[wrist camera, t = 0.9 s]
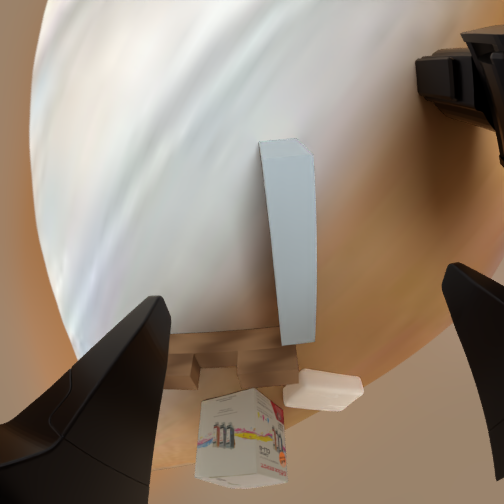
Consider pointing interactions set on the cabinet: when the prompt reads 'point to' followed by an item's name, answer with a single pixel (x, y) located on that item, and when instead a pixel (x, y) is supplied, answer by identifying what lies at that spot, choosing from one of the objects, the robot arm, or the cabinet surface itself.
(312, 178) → the light blue block
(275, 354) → the brown boxy piece
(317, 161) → the cabinet surface
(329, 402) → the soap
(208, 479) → the ink box
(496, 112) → the robot arm
